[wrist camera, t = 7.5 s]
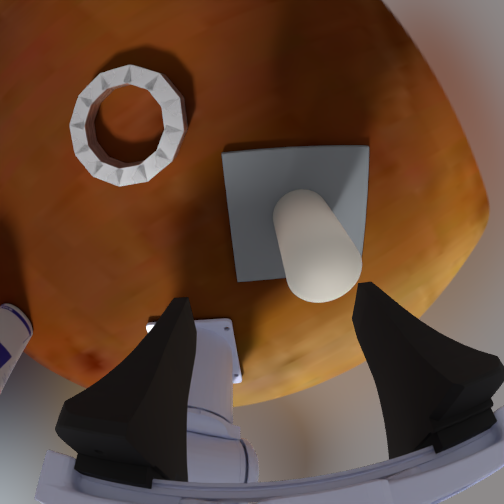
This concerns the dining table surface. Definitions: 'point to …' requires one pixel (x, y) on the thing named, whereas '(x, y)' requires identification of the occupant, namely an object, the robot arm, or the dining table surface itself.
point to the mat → (282, 182)
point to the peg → (314, 247)
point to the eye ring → (86, 134)
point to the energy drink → (12, 338)
